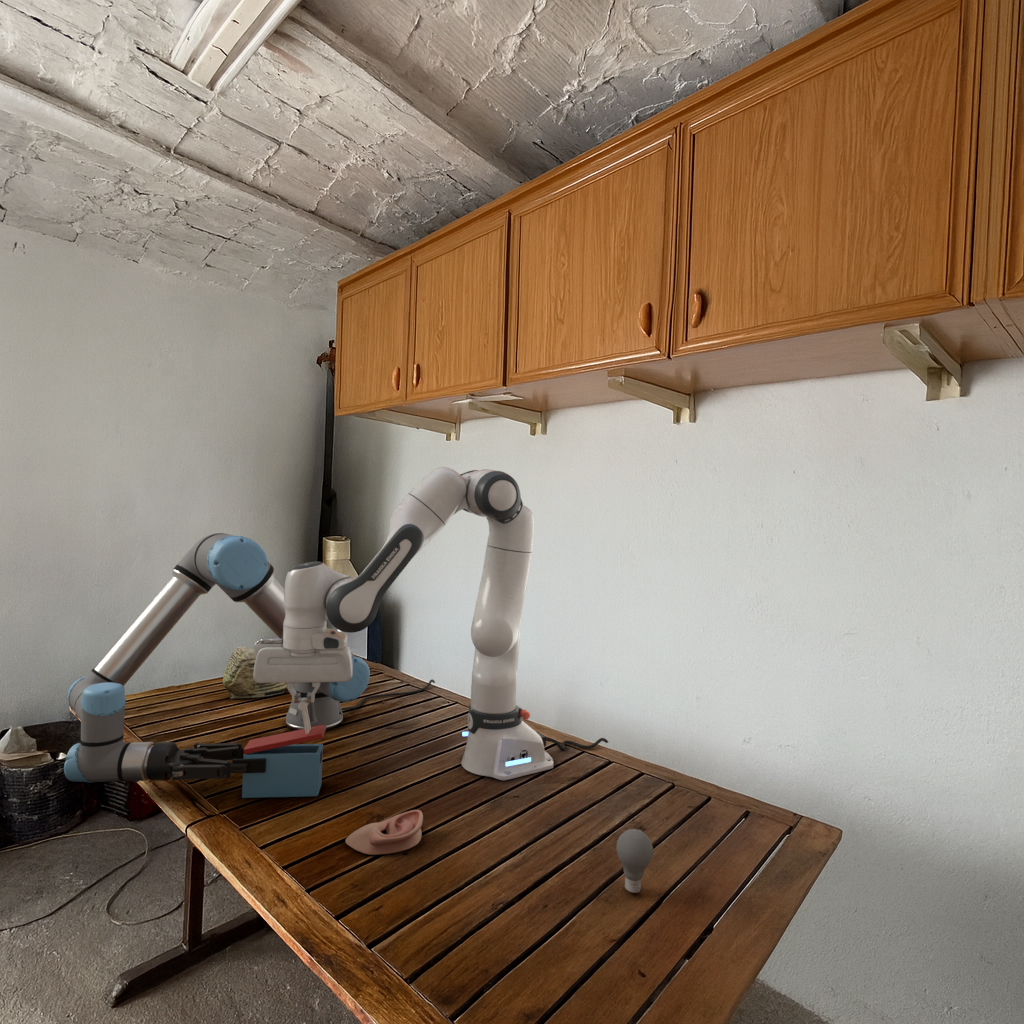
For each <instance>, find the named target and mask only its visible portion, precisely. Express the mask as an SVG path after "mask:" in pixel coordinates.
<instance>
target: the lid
mask: <svg viewBox="0 0 1024 1024" xmlns="http://www.w3.org/2000/svg"><path fill="white" fill-rule="evenodd" d="M308 704H309V703H307V698H303V699H301V701H300V703H299V705H298V708H299V710H301V711H302V716H303V722H304V727H305V729H301V730H296V731H295V730H290V731H287V732H286V731H285V732H282V733H281V732H280V733H277V734H271V735H267V736H263V737H258V738H252V739H250V740H248V742H247V744H246V745H245V746H244V747H245V748H244V749H243V751H244V755H245V754H249V753H254V752H259V751H264V750H269V749H273V748H278V747H283V746H288V745H298V744H302V743H307V742H310V741H316V740H320V739H323V738H324V736H325V734H326V731H327V730H326V725H320V726H315V727H311V725H310V720H309V714H308V709H307V705H308Z"/></svg>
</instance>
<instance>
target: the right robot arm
mask: <svg viewBox="0 0 1024 1024" xmlns="http://www.w3.org/2000/svg"><path fill="white" fill-rule="evenodd" d="M519 486H520V485H519V484H518V483H517V480H516V479H515V478H514V477H513V476H511V475H510V474H509V473H507V472H504V471H502V470H495V469H489V468H488V469H487V468H486V469H485V468H484V469H472V470H469V471H466V472H463V473H459V472H457V471H456V470H454V469H452V468H450V467H447V466H440V467H437V468H435V469H434V470H432V471H431V472H430V473H428V474H427V475H426V476H425V477H423V478H422V479H421V480H420V481H419V482H418V483H417V484H416V485H414V487H413V488H412V489H411V490H410V491H409V492H408V493H406V495H405V496H404V497H403V499H402V500H401V501H400V503H399V504H398V505H397V507H396V508H395V510H394V512H393V514H392V515H391V517H390V521H389V529H388V535H387V538H386V540H385V542H384V545H383V546H382V547H381V549H380V550H379V551H378V552H377V553H376V555H375V556H374V557H373V558H372V560H371V561H370V562H369V563H368V565H367V566H366V567H365V568H364V569H363V571H362V572H360V574H359V575H358V576H357V577H355V576H351V575H348V574H345V573H341V572H340V571H337V570H335V569H333V568H331V567H330V566H328V565H327V564H325V563H324V562H322V561H308V562H303V563H298V564H296V565H294V566H292V567H291V568H290V569H289V570H288V571H287V573H286V576H285V581H284V608H285V613H286V615H285V620H284V623H283V638H279V637H271V638H268V637H262V638H261V639H259V640H257V641H256V642H255V643H254V644H253V649H254V656H255V658H256V660H255V665H254V674H253V679H254V680H255V681H256V682H257V683H286V685H287V687H286V689H287V690H288V693H289V694H290V695H291V702H292V703H299V702H300V696H301V693H297V692H296V690H295V688H294V685H295V683H300V682H312V687H315V688H314V690H313V691H312V692H311V693H308V694H307V703H314V701H315V693H316V691H317V690H318V688H319V686H320V684H321V682H348V681H349V680H350V679H351V678H352V675H353V663H352V655H351V653H352V650H351V648H350V647H349V646H348V645H347V644H348V640H349V639H348V635H347V633H348V634H351V633H358V632H361V631H363V630H365V629H367V628H368V627H369V626H370V625H371V624H372V623H373V622H374V620H375V618H376V617H377V614H378V612H379V608H380V604H381V602H382V600H383V597H384V596H385V594H386V592H387V591H388V589H389V588H390V587H391V586H392V584H393V583H395V581H396V579H398V577H399V576H400V575H401V573H403V571H404V569H406V567H407V566H408V565H409V563H410V562H411V561H412V560H413V559H414V558H415V556H416V555H418V553H419V552H420V551H422V549H423V548H425V546H426V545H428V544H429V543H430V542H431V541H432V540H434V538H435V537H436V536H437V535H438V534H439V533H440V532H441V531H442V529H444V527H445V526H446V525H447V524H448V523H449V521H450V520H451V519H452V518H453V516H454V515H456V514H457V513H458V512H460V511H462V510H463V511H464V512H466V513H469V514H473V515H476V516H478V517H483V518H485V519H486V520H487V523H488V532H489V533H488V536H487V542H486V548H485V554H484V560H483V566H482V572H481V578H480V583H479V588H478V592H477V595H476V596H477V597H476V601H475V606H474V610H473V617H472V621H471V628H470V637H471V638H470V639H471V641H472V645H473V646H474V652H473V653H474V654H473V663H472V671H471V686H470V687H471V689H470V703H469V705H468V713H467V730H468V731H462V733H461V734H462V735H461V736H462V737H467V738H466V745H465V749H464V753H463V756H462V758H461V762H460V765H461V767H462V768H463V769H464V770H465V771H467V772H469V773H472V774H474V775H478V776H482V777H490V778H493V779H496V780H500V781H509V780H512V779H516V778H520V777H524V776H529V775H532V774H536V773H542V772H544V771H549V770H552V769H553V768H554V767H555V765H554V763H555V762H554V758H553V757H552V756H551V755H550V754H549V753H548V752H547V751H546V750H545V747H547V742H550V743H553V744H555V745H556V746H557V747H558V749H560V750H561V751H564V750H565V749H566V745H572V746H575V747H578V748H580V749H585V750H589V749H593V748H596V747H597V746H598V745H599V744H600V743H602V742H604V743H605V744H608V743H609V741H608V740H607V738H605V737H600V738H598V739H597V740H595V742H594V743H592V744H587V745H585V744H581V743H578V742H575V741H574V740H563V741H562V742H561V743H560V742H559V741H557V740H556V739H554V738H551V737H547V736H545V735H544V734H542V733H541V732H539V731H538V730H537V731H536V730H534V728H533V727H531V726H530V725H528V724H527V723H526V722H525V721H527V720H529V719H530V718H531V713H530V712H529V711H528V710H527V709H523V708H522V707H521V706H519V705H517V693H518V691H517V690H518V673H519V671H518V670H519V657H520V641H521V626H522V625H521V624H522V622H521V621H522V620H521V618H522V612H523V607H524V601H525V596H526V589H527V585H528V578H529V573H530V566H531V559H532V554H533V547H534V533H535V522H534V521H535V520H534V514H533V511H532V510H531V509H530V508H529V507H527V506H526V505H524V503H523V500H522V497H521V496H522V495H521V489H520V487H519ZM328 621H329V623H330V624H331V625H332V626H333V627H334V628H335V629H337V630H335V629H332V628H330V627H327V626H328V625H327V623H328ZM523 720H524V721H523Z"/></svg>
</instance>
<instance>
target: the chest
mask: <svg viewBox="0 0 1024 1024" xmlns="http://www.w3.org/2000/svg"><path fill="white" fill-rule="evenodd" d="M323 754H324V744H323V743H306V744H305V743H304V744H302V743H299V744H293V745H288V746H283V747H278V748H273V749H269V750H264V751H259V752H254V753H249V754H245V755H244V759H262V758H266V771H265V773H242V789H241V799H248V798H249V799H253V798H254V799H255V798H257V799H258V798H295V797H296V798H297V797H318V796H319V793H320V790H321V787H322V783H323V782H322V780H323V757H324V756H323Z"/></svg>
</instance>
